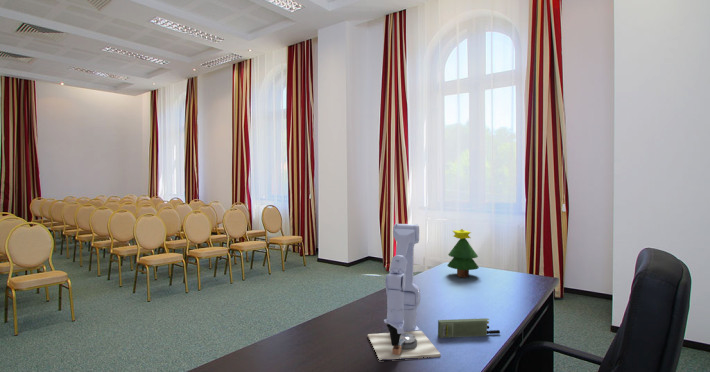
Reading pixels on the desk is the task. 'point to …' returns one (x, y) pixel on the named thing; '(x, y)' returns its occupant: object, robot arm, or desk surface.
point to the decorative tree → (462, 255)
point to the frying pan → (403, 342)
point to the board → (414, 353)
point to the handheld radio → (464, 328)
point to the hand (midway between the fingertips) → (395, 345)
